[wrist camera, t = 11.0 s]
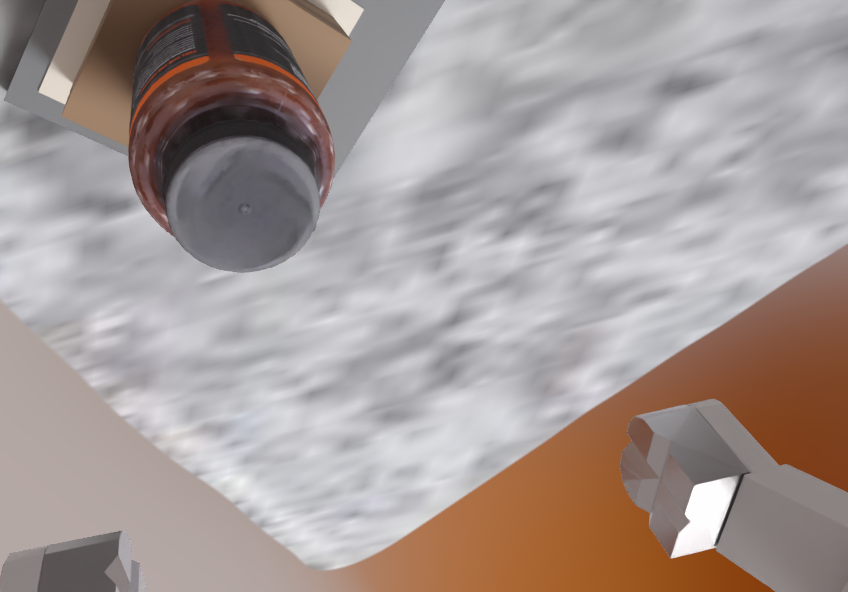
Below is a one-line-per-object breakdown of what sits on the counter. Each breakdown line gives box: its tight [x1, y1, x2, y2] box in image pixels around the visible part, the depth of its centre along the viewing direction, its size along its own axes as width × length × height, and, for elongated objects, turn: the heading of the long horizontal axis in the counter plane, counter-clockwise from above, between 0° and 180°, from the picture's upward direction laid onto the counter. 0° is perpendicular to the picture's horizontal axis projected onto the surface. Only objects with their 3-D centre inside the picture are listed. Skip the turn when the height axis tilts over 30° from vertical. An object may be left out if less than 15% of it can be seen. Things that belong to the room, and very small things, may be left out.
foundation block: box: [62, 0, 352, 146], centre depth 29 cm, size 8×8×4 cm
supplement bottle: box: [128, 0, 335, 273], centre depth 23 cm, size 6×6×11 cm
